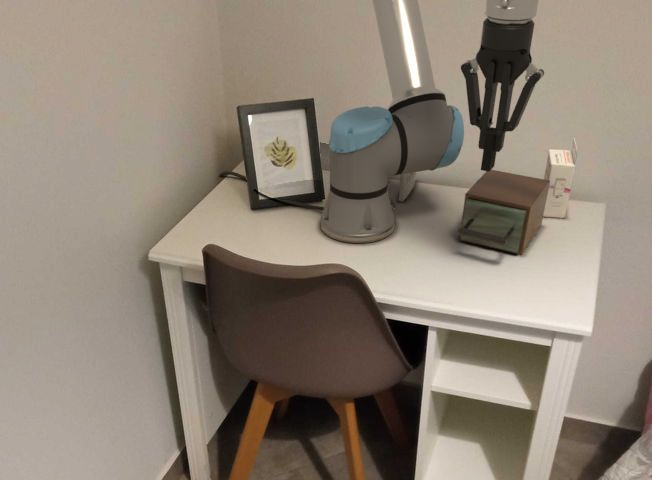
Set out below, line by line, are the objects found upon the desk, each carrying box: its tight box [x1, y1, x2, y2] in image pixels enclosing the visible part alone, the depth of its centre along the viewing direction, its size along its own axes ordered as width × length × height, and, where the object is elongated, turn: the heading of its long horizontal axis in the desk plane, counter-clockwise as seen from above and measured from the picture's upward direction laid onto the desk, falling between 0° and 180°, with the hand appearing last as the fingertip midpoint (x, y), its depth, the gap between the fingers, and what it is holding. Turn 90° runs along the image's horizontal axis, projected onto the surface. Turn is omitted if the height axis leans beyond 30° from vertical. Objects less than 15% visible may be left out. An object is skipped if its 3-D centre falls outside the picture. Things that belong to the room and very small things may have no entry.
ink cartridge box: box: [543, 136, 579, 219], centre depth 148 cm, size 9×5×15 cm, turn 168°
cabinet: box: [459, 169, 550, 256], centre depth 141 cm, size 14×13×10 cm
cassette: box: [398, 172, 417, 203], centre depth 158 cm, size 12×2×8 cm, turn 159°
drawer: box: [457, 199, 527, 254], centre depth 137 cm, size 19×11×8 cm, turn 149°
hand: (487, 167), depth 120 cm, fingers closed
